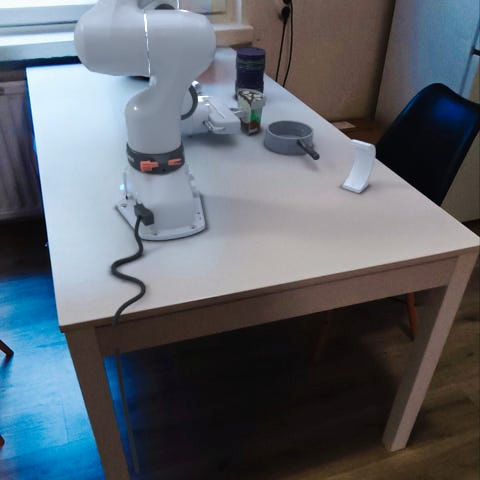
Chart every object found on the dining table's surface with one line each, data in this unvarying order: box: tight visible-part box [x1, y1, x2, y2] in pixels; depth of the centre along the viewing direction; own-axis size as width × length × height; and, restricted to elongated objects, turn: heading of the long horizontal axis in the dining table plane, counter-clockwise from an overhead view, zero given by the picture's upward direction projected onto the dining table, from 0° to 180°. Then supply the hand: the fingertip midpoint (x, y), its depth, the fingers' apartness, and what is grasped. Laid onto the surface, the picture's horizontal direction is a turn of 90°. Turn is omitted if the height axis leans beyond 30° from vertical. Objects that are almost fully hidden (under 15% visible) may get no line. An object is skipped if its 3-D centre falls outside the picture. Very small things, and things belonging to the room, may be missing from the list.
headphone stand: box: [341, 139, 376, 194], centre depth 118 cm, size 5×6×12 cm
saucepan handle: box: [297, 138, 321, 161], centre depth 129 cm, size 12×2×2 cm, turn 20°
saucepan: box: [264, 119, 315, 156], centre depth 138 cm, size 13×13×4 cm
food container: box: [237, 89, 266, 136], centre depth 144 cm, size 12×6×10 cm, turn 20°
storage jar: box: [234, 38, 267, 101], centre depth 162 cm, size 10×10×18 cm
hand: (244, 112), depth 143 cm, fingers closed, pressing on food container
